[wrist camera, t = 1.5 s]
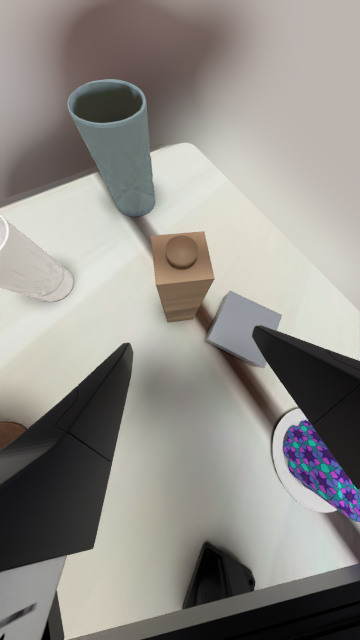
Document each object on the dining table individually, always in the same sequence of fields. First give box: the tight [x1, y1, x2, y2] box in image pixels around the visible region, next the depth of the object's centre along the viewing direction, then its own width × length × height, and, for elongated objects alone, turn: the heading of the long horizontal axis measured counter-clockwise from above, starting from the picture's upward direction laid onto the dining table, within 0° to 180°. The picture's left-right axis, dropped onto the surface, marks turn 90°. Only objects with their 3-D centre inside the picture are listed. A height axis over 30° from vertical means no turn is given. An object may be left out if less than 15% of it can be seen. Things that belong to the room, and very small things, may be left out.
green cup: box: [68, 79, 155, 217], centre depth 22 cm, size 10×10×12 cm
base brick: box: [205, 291, 282, 368], centre depth 21 cm, size 9×9×2 cm
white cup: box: [0, 215, 74, 302], centre depth 18 cm, size 8×8×10 cm
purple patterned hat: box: [272, 408, 360, 522], centre depth 16 cm, size 12×12×5 cm
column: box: [151, 232, 214, 322], centre depth 16 cm, size 4×4×14 cm
